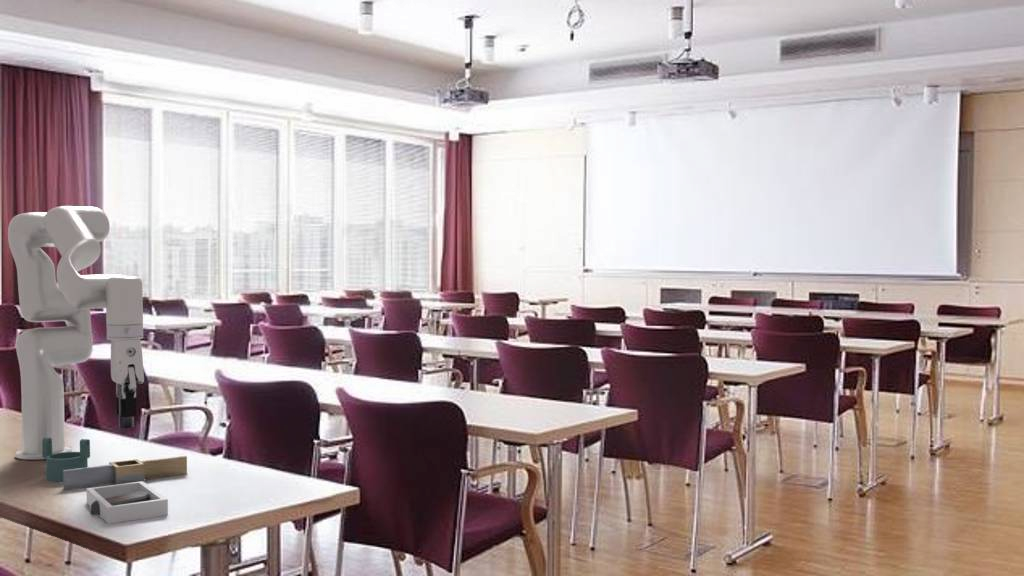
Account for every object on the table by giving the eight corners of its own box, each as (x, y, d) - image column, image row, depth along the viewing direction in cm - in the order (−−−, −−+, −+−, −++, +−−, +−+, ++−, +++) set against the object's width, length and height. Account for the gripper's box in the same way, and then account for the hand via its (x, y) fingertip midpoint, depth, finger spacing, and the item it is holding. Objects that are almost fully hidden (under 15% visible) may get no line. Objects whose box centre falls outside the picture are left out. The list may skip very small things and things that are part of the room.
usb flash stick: (90, 513, 193) (90, 499, 193) (143, 501, 203) (144, 488, 203) (106, 517, 190) (106, 503, 190) (160, 505, 200) (160, 491, 200)
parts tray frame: (86, 503, 201) (86, 488, 201) (142, 495, 207) (142, 481, 207) (108, 523, 186) (107, 507, 186) (167, 514, 192) (167, 499, 192)
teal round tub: (91, 479, 221) (90, 439, 221) (45, 484, 217) (45, 443, 216) (85, 472, 229) (85, 433, 229) (41, 476, 224) (41, 436, 224)
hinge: (66, 492, 210) (66, 473, 210) (60, 486, 215) (60, 468, 214) (190, 476, 225) (190, 458, 224) (182, 471, 230) (182, 453, 229)
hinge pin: (131, 425, 221) (131, 380, 221) (135, 427, 219) (134, 382, 218) (117, 426, 219) (116, 381, 219) (121, 428, 217) (120, 383, 217)
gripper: (152, 334, 214) (154, 419, 214) (133, 329, 227) (134, 409, 228) (116, 335, 209) (117, 422, 210) (98, 330, 223) (99, 412, 223)
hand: (126, 414), depth 219 cm, fingers closed on hinge pin, 3 cm apart
